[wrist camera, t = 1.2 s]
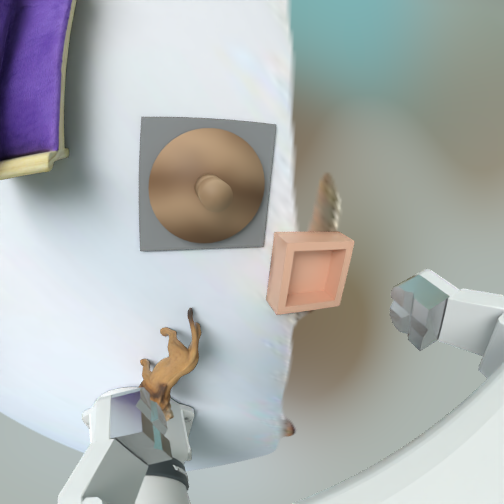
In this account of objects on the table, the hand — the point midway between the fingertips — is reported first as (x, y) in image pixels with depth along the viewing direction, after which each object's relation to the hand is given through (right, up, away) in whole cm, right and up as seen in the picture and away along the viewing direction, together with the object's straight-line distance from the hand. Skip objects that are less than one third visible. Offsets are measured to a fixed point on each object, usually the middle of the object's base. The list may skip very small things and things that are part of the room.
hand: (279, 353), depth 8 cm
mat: (-6, +10, +23) cm, 25 cm away
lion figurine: (-12, -10, +29) cm, 33 cm away
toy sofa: (-23, +21, +12) cm, 33 cm away
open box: (+6, +1, +30) cm, 31 cm away
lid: (-5, +10, +22) cm, 25 cm away
